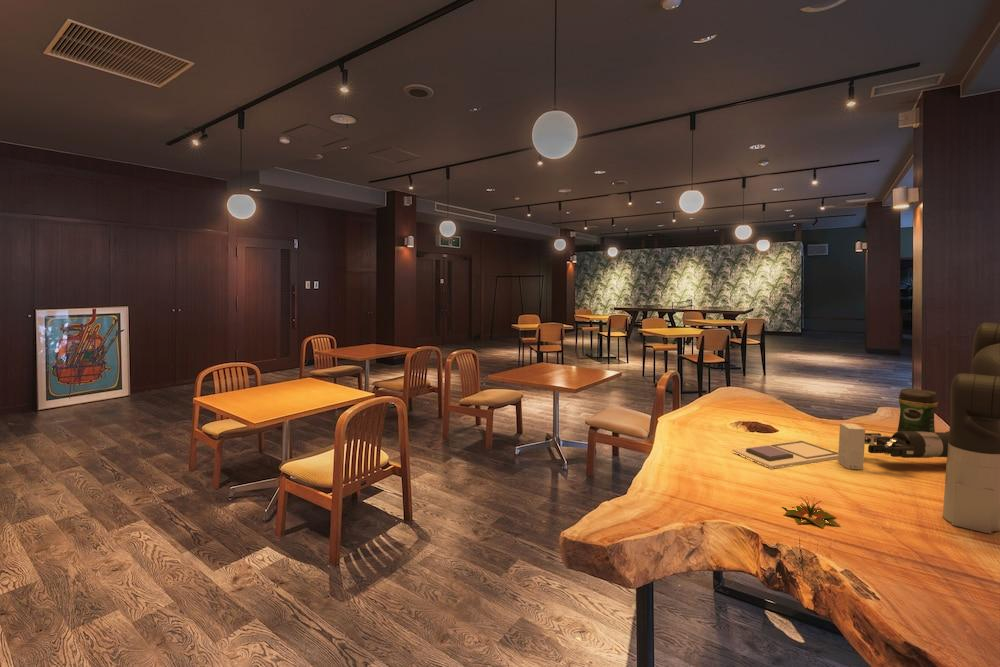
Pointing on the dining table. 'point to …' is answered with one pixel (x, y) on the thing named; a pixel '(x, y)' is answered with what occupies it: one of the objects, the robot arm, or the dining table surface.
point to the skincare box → (851, 446)
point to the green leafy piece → (810, 511)
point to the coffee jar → (917, 410)
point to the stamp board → (787, 454)
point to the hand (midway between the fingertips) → (858, 444)
